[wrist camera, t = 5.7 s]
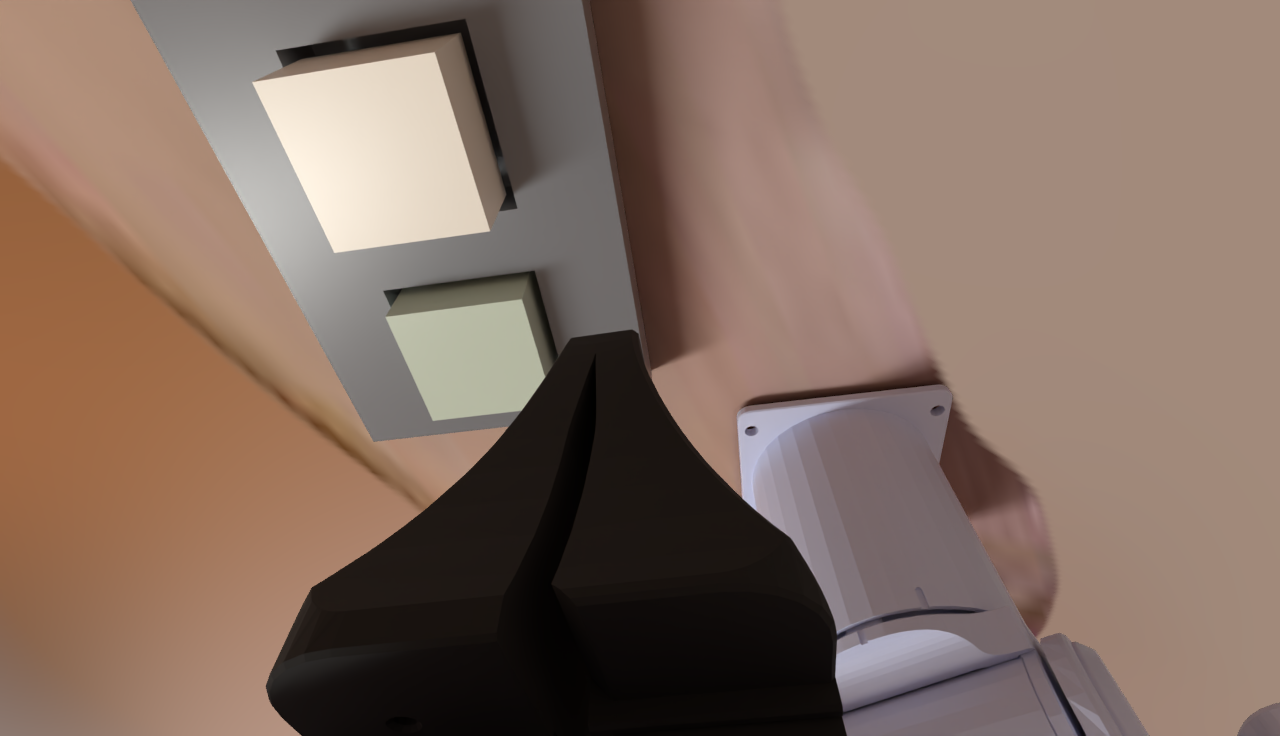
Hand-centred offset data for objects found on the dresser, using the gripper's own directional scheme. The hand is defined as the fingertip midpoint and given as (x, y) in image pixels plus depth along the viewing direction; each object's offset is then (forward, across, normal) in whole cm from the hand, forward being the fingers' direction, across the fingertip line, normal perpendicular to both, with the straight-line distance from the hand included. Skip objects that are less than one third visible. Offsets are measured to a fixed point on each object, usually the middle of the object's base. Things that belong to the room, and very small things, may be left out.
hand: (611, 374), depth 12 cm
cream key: (+7, +5, -4) cm, 9 cm away
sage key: (+8, +5, +3) cm, 10 cm away
